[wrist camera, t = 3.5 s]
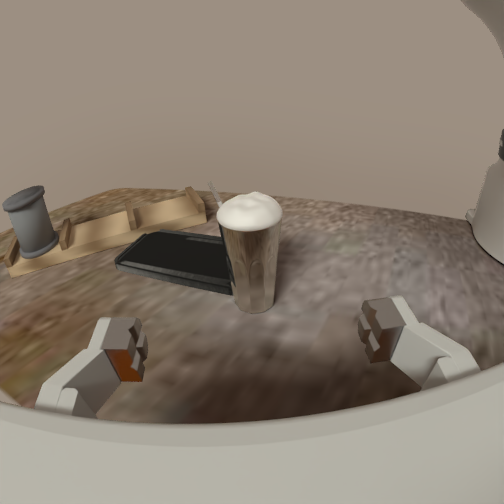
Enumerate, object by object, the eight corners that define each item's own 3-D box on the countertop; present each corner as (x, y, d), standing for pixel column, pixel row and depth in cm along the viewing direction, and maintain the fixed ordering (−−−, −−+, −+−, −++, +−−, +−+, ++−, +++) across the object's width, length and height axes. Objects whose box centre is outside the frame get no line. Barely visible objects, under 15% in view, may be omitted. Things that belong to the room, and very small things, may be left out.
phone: (244, 291, 27) (110, 262, 31) (244, 301, 27) (113, 271, 32) (271, 243, 33) (151, 226, 37) (271, 252, 33) (153, 234, 38)
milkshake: (235, 276, 30) (226, 171, 24) (290, 291, 27) (291, 179, 22) (208, 307, 26) (190, 193, 21) (268, 326, 24) (264, 204, 19)
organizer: (193, 204, 44) (190, 186, 42) (206, 222, 39) (204, 202, 38) (21, 253, 36) (14, 236, 34) (11, 278, 31) (3, 259, 29)
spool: (61, 230, 37) (47, 181, 33) (56, 251, 32) (38, 196, 29) (25, 241, 35) (9, 194, 31) (17, 263, 31) (-4, 211, 27)
